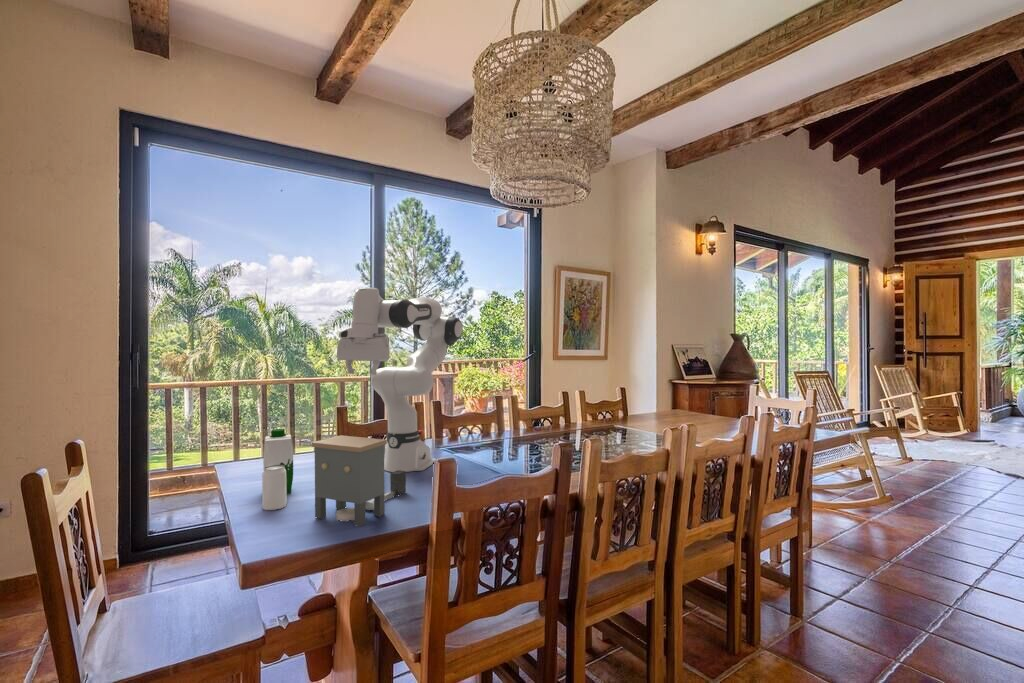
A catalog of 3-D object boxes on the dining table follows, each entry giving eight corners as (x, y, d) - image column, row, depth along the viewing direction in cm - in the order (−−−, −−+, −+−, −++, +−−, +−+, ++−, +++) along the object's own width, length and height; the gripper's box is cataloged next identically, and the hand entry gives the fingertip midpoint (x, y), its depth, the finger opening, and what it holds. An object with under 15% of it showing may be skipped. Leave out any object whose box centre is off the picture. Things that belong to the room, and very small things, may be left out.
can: (264, 512, 145) (264, 471, 145) (260, 506, 150) (260, 466, 150) (288, 508, 149) (288, 467, 148) (284, 502, 154) (283, 463, 154)
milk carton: (292, 486, 170) (292, 427, 170) (294, 494, 162) (293, 432, 161) (263, 490, 166) (263, 429, 166) (263, 498, 158) (263, 434, 158)
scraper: (393, 490, 165) (393, 469, 165) (410, 493, 162) (410, 471, 162) (355, 507, 148) (355, 484, 148) (374, 511, 145) (374, 487, 145)
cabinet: (340, 506, 150) (340, 435, 150) (387, 514, 143) (386, 439, 143) (311, 518, 140) (311, 442, 139) (360, 527, 133) (359, 447, 133)
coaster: (346, 513, 144) (346, 506, 144) (363, 516, 142) (363, 509, 142) (331, 520, 139) (331, 513, 139) (348, 523, 136) (348, 516, 136)
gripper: (395, 334, 170) (392, 375, 169) (348, 334, 178) (345, 373, 177) (383, 332, 164) (380, 374, 163) (335, 332, 173) (332, 373, 171)
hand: (361, 374), depth 170 cm, fingers open, 8 cm apart
